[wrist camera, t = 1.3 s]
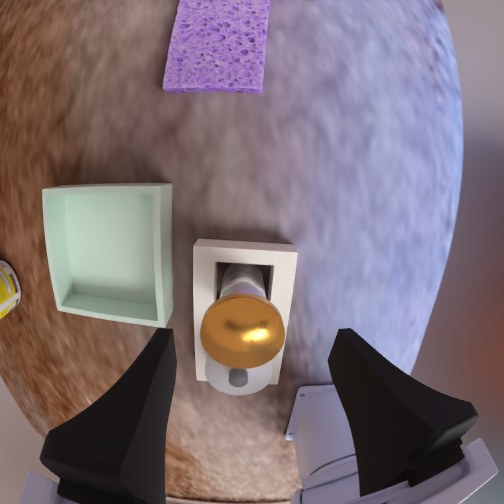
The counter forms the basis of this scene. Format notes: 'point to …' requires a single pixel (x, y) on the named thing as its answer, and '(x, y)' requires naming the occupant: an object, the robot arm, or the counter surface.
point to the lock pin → (242, 321)
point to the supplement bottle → (8, 289)
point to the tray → (111, 250)
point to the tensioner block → (206, 294)
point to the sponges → (217, 46)
